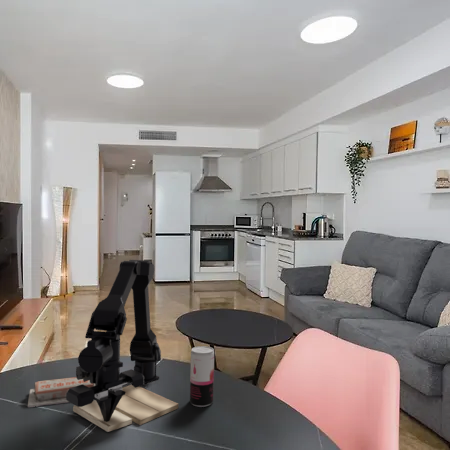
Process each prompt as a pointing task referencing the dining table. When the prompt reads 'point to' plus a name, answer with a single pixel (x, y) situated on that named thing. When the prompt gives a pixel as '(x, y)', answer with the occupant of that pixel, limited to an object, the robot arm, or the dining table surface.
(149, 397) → the laid floor
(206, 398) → the beverage can
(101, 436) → the dining table surface
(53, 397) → the packaged product
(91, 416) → the plank
